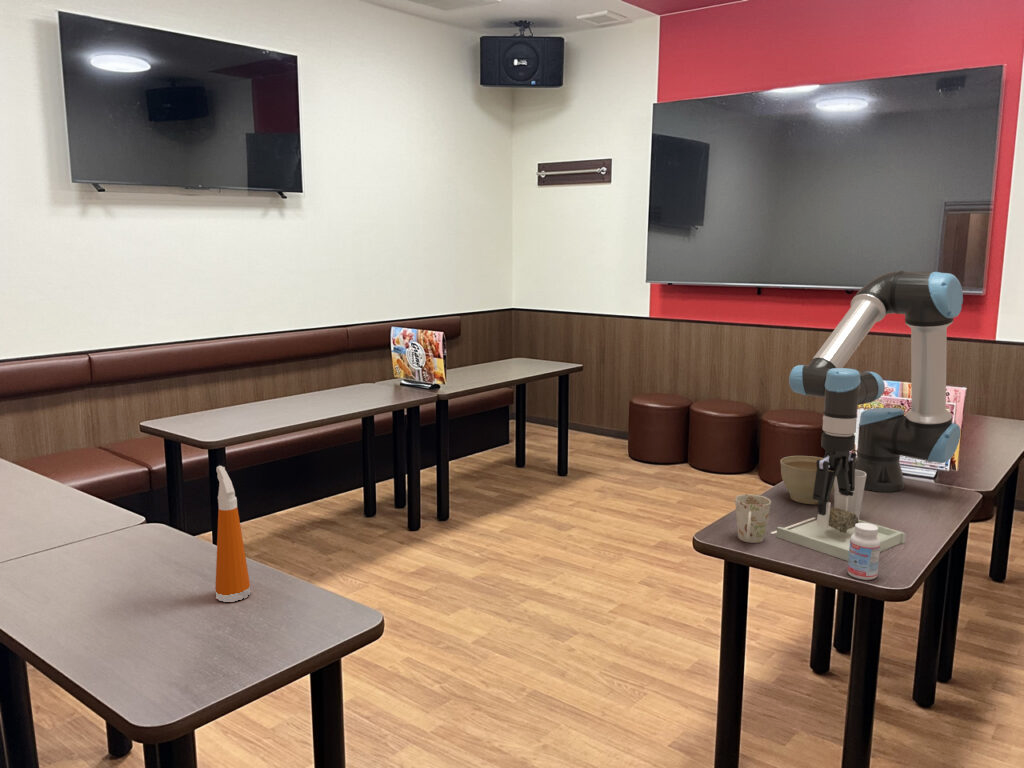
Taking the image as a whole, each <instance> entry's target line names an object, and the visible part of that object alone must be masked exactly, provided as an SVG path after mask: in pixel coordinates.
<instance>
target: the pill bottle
mask: <svg viewBox="0 0 1024 768" xmlns="http://www.w3.org/2000/svg"><path fill="white" fill-rule="evenodd" d="M869 523H870V522H869ZM869 523H857V524H855V529H854V530H855V532H856V533H855V534H853V535H852V536H851V538H850V547H849V559H848V561H847V562H848V563H847V573H848V575H849V576H851V577H852V578H855V579H859V580H863V581H869V580H874V579H876V578H877V577H878V571H879V561H880V553H881V552H880V539H879V538H878V537H877V535H878V527H877V526H875V525H873V524H874V523H873V524H869Z"/></svg>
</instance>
